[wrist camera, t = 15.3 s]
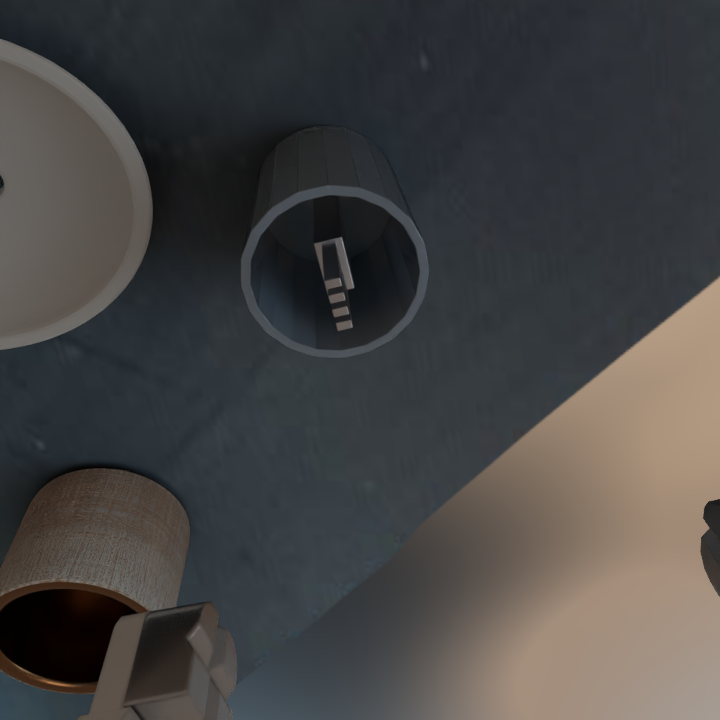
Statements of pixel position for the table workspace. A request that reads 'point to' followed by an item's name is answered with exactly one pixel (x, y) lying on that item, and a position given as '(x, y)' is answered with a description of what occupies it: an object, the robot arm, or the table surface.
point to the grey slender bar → (333, 257)
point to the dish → (63, 201)
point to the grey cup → (363, 236)
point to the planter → (86, 573)
